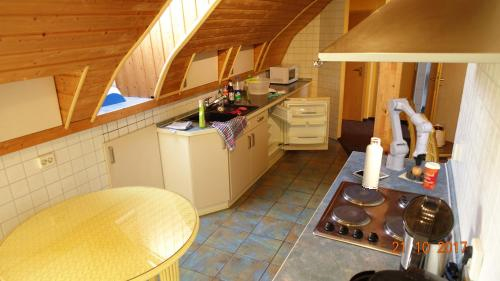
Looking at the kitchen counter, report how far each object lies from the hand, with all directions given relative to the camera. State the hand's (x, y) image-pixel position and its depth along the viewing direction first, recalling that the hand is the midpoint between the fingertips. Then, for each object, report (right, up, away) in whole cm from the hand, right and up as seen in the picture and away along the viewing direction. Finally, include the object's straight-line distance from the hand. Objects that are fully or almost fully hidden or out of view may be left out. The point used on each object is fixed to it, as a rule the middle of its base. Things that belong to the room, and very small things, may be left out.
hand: (418, 165), depth 203 cm
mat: (-1, -8, +3) cm, 8 cm away
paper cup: (+1, -12, -10) cm, 15 cm away
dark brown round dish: (0, -7, +2) cm, 8 cm away
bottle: (-32, -12, -11) cm, 36 cm away
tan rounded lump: (0, -7, +2) cm, 7 cm away
